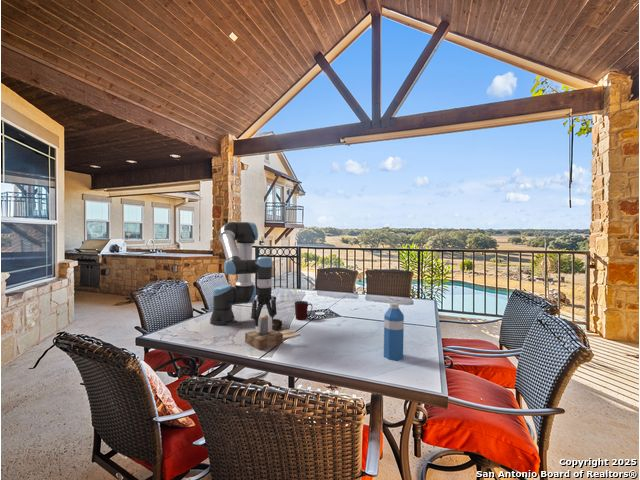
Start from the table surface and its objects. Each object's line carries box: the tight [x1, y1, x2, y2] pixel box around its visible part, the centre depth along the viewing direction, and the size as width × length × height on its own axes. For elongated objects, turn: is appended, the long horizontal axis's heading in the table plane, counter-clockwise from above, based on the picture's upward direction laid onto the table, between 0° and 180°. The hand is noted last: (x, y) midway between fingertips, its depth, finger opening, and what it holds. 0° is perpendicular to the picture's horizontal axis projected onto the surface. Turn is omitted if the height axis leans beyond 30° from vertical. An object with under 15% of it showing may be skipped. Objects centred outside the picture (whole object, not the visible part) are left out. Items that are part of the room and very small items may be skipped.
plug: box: [259, 314, 268, 336], centre depth 156 cm, size 4×4×14 cm
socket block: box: [244, 329, 284, 351], centre depth 156 cm, size 14×14×5 cm
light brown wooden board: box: [277, 328, 301, 341], centre depth 170 cm, size 12×12×1 cm
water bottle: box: [383, 302, 405, 361], centre depth 141 cm, size 9×9×25 cm
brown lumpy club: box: [272, 318, 283, 331], centre depth 176 cm, size 18×7×6 cm, turn 161°
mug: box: [294, 300, 313, 321], centre depth 203 cm, size 12×9×11 cm
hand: (264, 330), depth 156 cm, fingers open, 7 cm apart
